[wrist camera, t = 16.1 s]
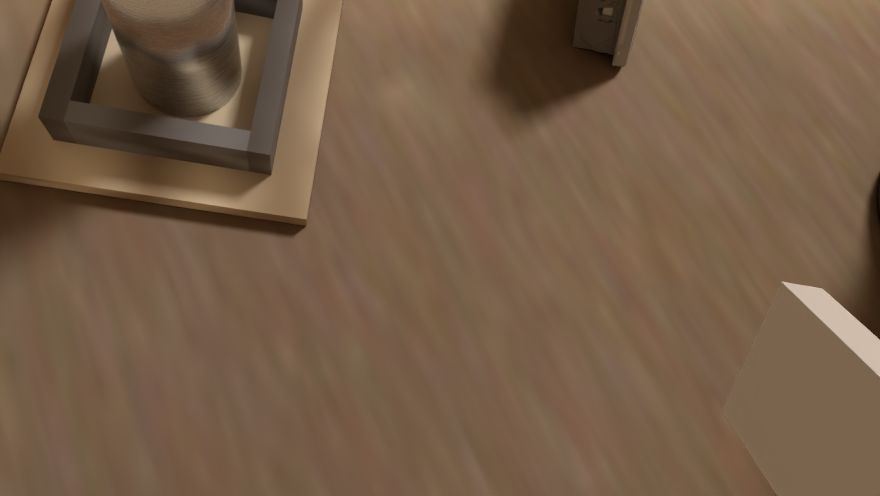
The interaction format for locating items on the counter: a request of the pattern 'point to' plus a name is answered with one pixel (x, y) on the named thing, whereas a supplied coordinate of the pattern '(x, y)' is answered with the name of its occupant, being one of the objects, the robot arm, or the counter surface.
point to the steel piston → (179, 52)
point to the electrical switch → (607, 27)
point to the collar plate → (178, 138)
